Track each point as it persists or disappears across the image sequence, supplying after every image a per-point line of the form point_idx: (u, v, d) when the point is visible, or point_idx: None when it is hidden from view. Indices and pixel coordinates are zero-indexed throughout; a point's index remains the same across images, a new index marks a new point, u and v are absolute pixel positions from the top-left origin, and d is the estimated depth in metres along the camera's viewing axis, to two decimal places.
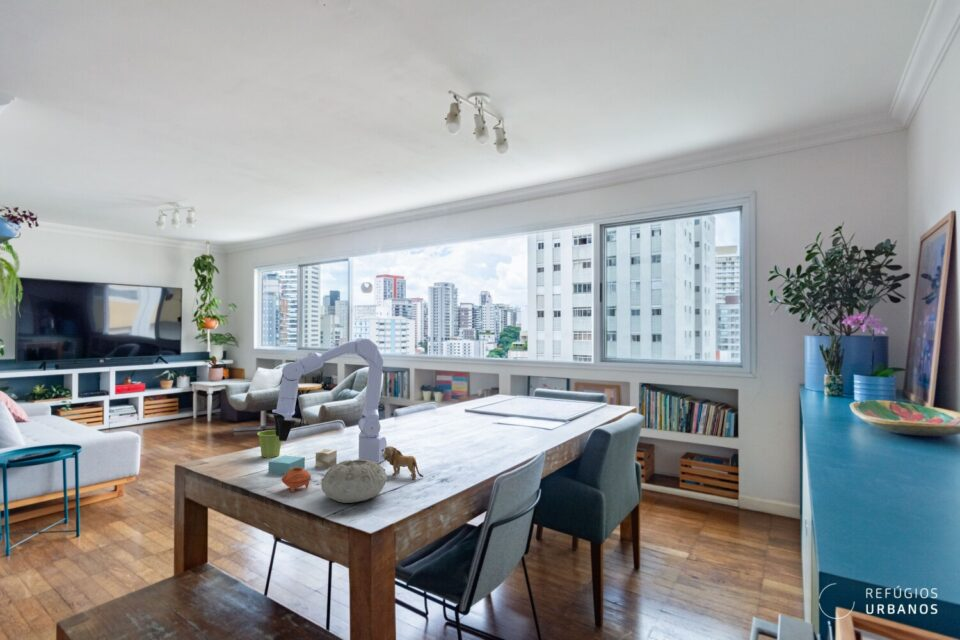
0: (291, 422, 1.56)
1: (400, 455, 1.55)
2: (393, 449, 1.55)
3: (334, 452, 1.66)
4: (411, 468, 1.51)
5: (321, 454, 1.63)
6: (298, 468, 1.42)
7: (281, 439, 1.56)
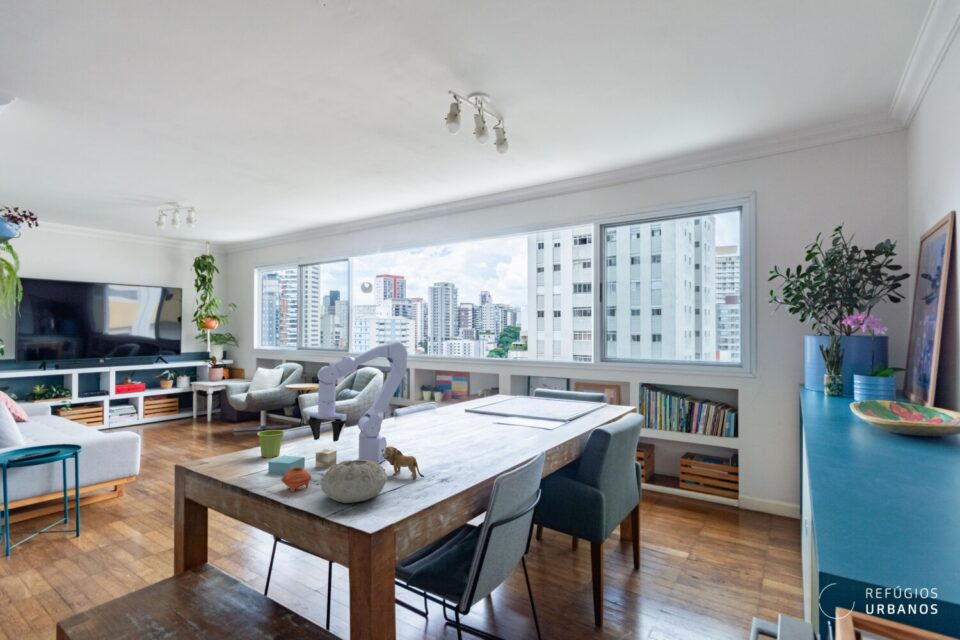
0: (344, 421, 1.65)
1: (401, 455, 1.55)
2: (394, 449, 1.55)
3: (334, 452, 1.66)
4: (412, 468, 1.51)
5: (321, 454, 1.63)
6: (298, 468, 1.42)
7: (335, 439, 1.64)
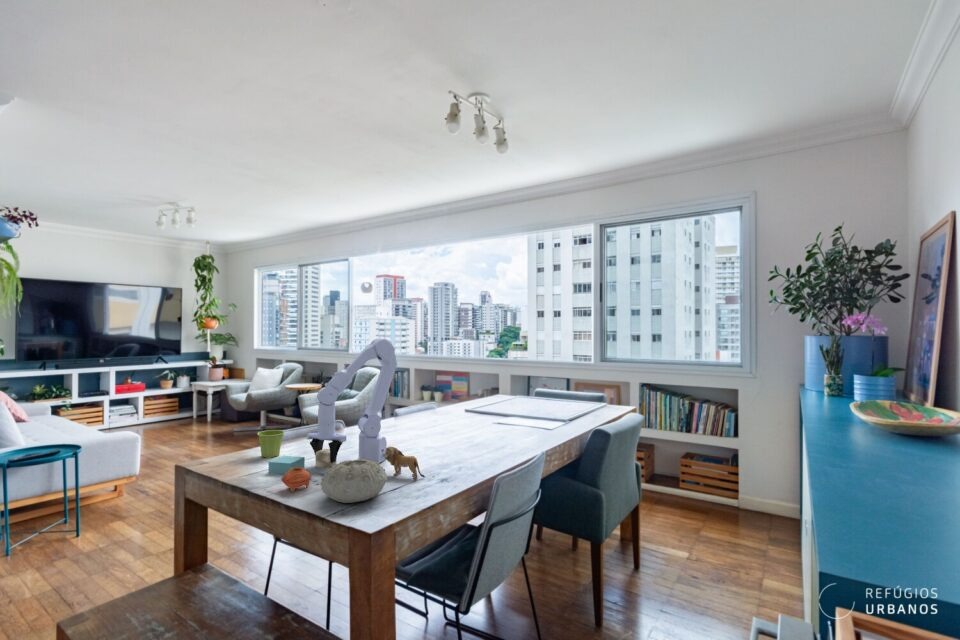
0: (341, 442, 1.65)
1: (401, 455, 1.54)
2: (394, 449, 1.55)
3: None
4: (412, 468, 1.50)
5: (321, 454, 1.63)
6: (298, 468, 1.42)
7: (333, 460, 1.64)
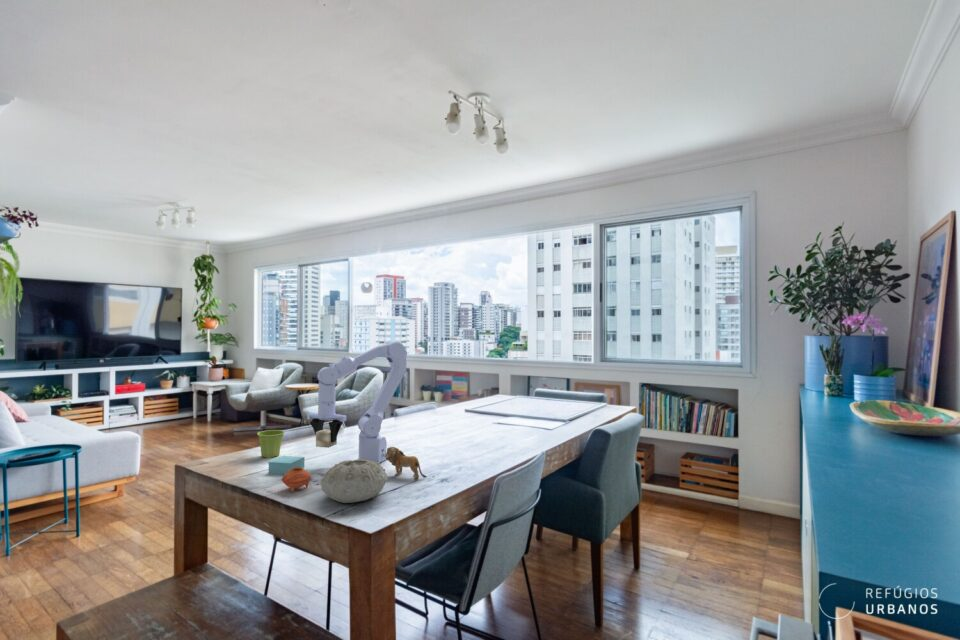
0: (341, 422, 1.65)
1: (402, 455, 1.54)
2: (395, 449, 1.55)
3: None
4: (414, 468, 1.50)
5: (321, 433, 1.63)
6: (298, 468, 1.42)
7: (333, 440, 1.64)
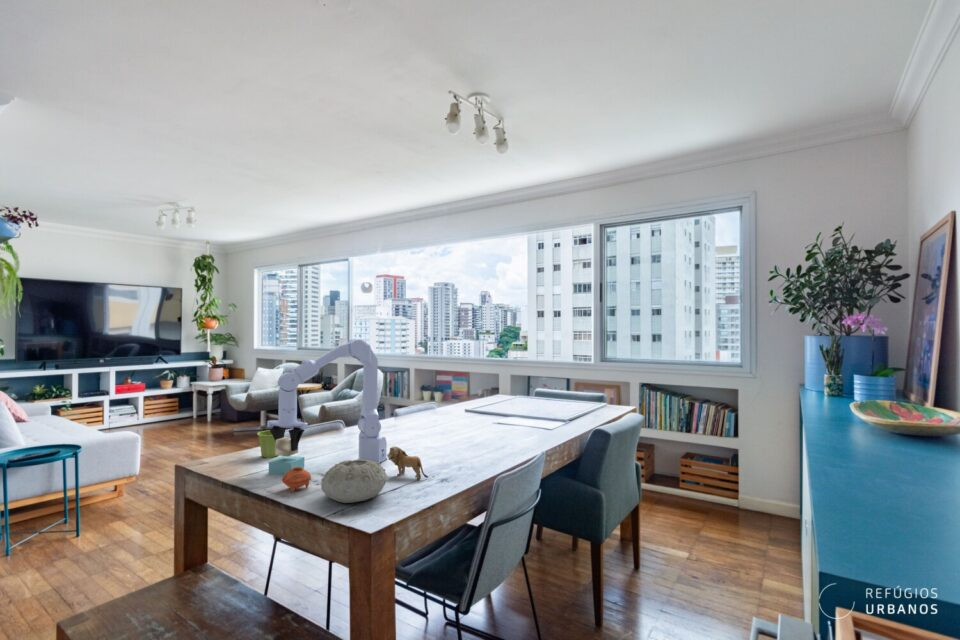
0: (302, 430, 1.59)
1: (405, 455, 1.54)
2: (398, 449, 1.55)
3: None
4: (416, 469, 1.50)
5: (281, 442, 1.57)
6: (298, 468, 1.42)
7: (294, 449, 1.58)
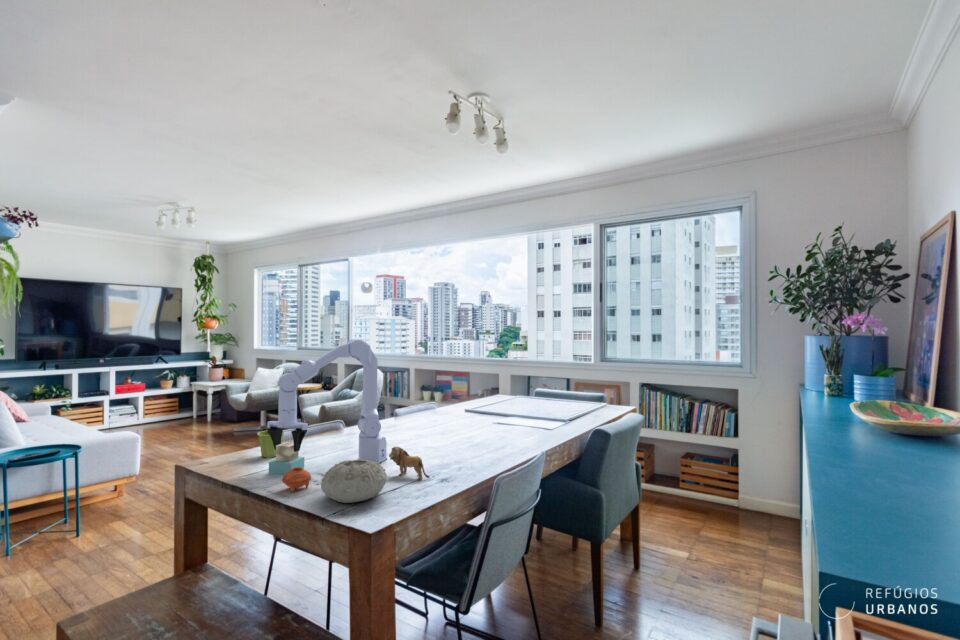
0: (305, 431, 1.59)
1: (406, 455, 1.54)
2: (400, 449, 1.55)
3: None
4: (417, 469, 1.50)
5: (281, 447, 1.57)
6: (298, 468, 1.42)
7: (296, 449, 1.57)
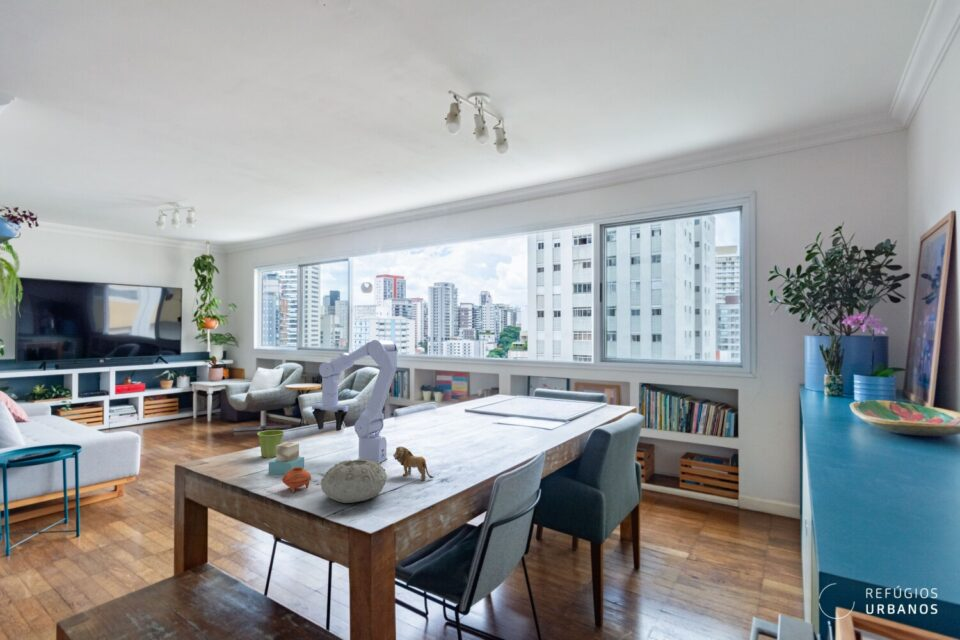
0: (346, 412, 1.79)
1: (411, 456, 1.54)
2: (404, 449, 1.55)
3: (296, 445, 1.59)
4: (420, 469, 1.50)
5: (281, 447, 1.57)
6: (298, 468, 1.42)
7: (338, 429, 1.78)
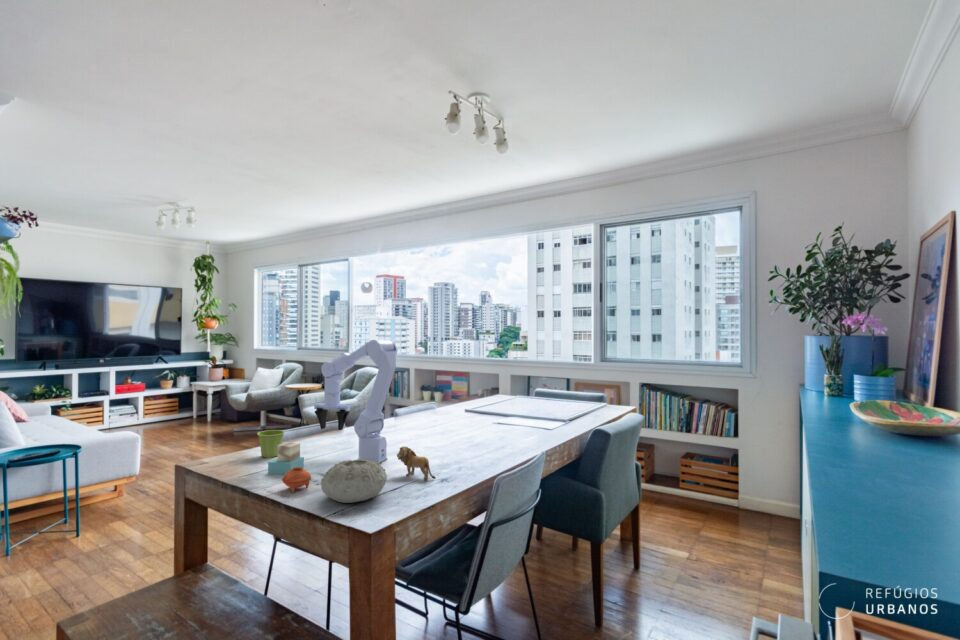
0: (348, 412, 1.81)
1: (414, 456, 1.54)
2: (407, 449, 1.55)
3: (297, 445, 1.60)
4: (423, 469, 1.49)
5: (283, 447, 1.57)
6: (298, 468, 1.42)
7: (340, 428, 1.79)
